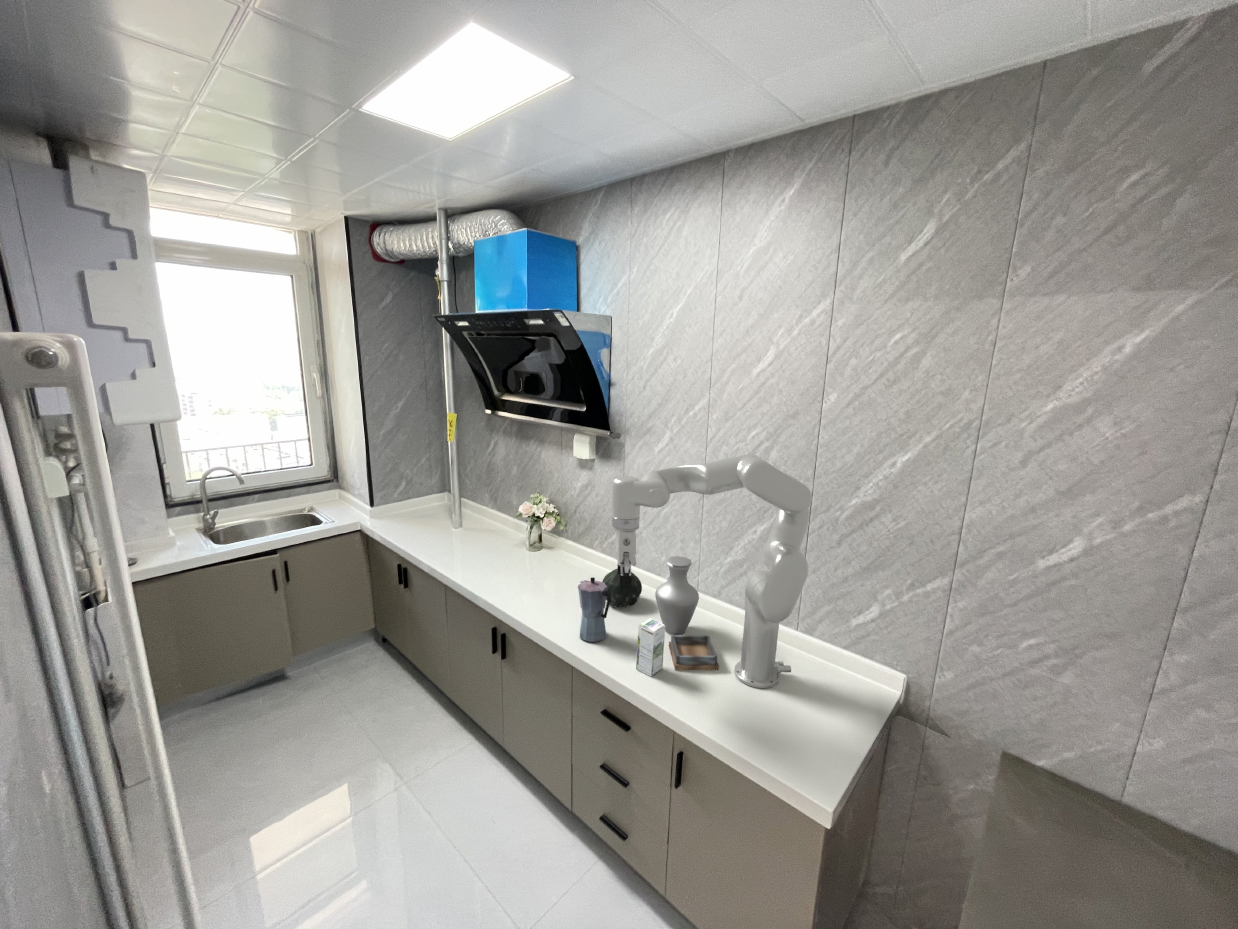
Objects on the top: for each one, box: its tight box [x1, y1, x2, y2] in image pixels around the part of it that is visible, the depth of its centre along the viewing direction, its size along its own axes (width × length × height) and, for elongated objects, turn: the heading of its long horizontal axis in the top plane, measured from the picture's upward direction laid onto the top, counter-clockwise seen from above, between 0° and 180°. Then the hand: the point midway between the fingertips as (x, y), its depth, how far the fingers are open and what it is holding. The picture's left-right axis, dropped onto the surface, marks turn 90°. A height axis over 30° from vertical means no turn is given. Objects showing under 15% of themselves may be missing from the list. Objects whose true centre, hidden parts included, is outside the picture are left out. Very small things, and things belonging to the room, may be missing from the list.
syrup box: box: [635, 618, 666, 678], centre depth 149 cm, size 6×6×14 cm
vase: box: [654, 555, 700, 636], centre depth 170 cm, size 14×14×25 cm
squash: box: [601, 568, 643, 608], centre depth 190 cm, size 14×15×15 cm
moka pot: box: [577, 577, 611, 643], centre depth 165 cm, size 10×15×20 cm, turn 44°
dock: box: [668, 634, 720, 671], centre depth 157 cm, size 13×13×4 cm
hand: (624, 580), depth 142 cm, fingers open, 9 cm apart
